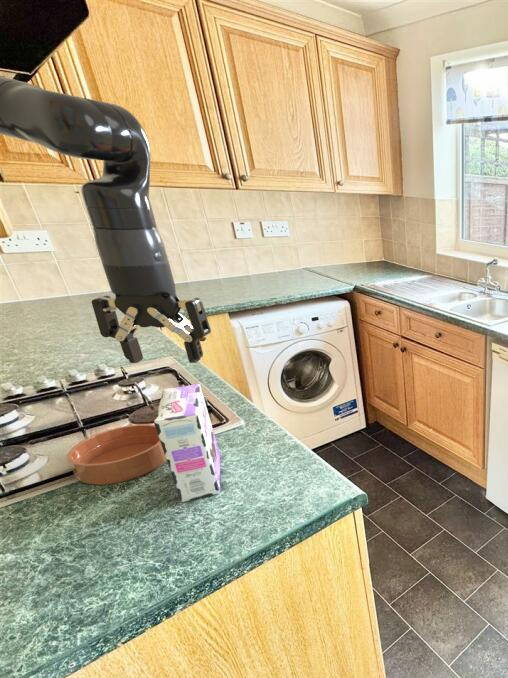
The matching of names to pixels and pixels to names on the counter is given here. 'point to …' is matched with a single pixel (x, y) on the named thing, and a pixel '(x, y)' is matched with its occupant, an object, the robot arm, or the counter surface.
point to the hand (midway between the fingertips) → (166, 361)
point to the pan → (117, 455)
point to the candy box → (189, 442)
